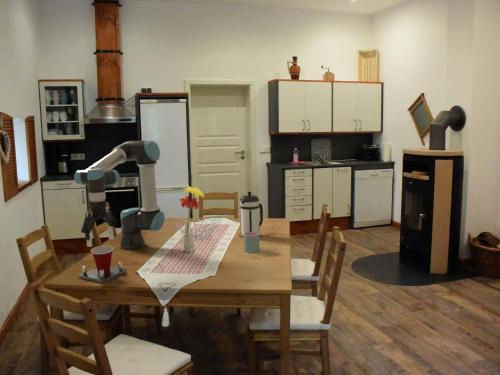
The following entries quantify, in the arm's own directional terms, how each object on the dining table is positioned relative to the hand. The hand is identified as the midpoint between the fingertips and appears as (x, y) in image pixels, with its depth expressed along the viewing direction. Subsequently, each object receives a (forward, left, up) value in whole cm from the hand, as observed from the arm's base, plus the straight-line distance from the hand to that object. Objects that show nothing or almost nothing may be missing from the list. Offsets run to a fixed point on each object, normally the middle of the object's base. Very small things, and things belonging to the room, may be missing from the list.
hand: (100, 242), depth 209 cm
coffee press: (-96, +32, -17) cm, 103 cm away
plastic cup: (-1, 0, -15) cm, 15 cm away
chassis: (0, 0, -17) cm, 17 cm away
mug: (-70, +47, -17) cm, 86 cm away
